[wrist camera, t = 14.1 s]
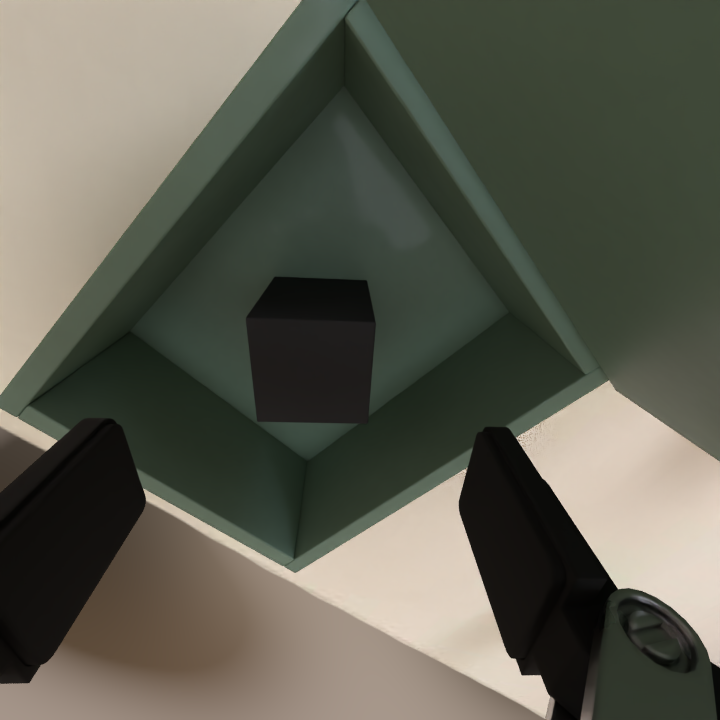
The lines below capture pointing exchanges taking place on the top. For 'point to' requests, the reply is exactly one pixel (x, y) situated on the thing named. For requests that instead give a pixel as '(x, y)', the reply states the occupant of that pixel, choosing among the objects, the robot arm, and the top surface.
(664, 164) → the lid
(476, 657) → the top surface
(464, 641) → the top surface
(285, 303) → the black block
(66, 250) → the top surface
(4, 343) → the top surface
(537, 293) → the chest
